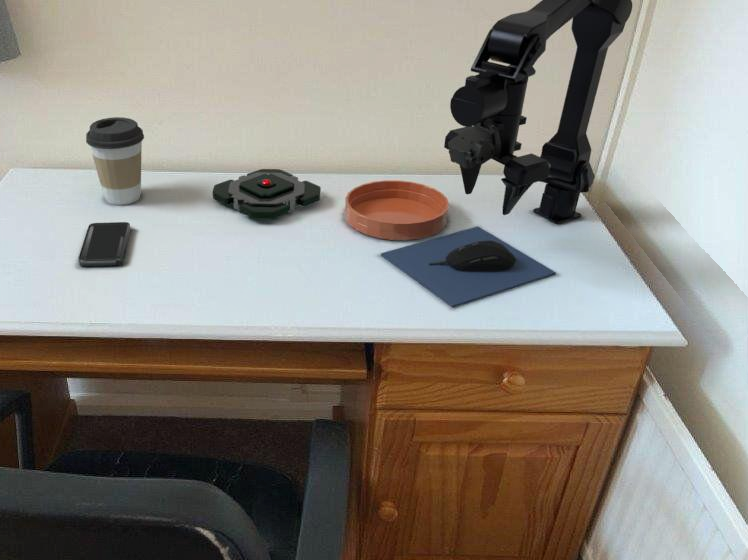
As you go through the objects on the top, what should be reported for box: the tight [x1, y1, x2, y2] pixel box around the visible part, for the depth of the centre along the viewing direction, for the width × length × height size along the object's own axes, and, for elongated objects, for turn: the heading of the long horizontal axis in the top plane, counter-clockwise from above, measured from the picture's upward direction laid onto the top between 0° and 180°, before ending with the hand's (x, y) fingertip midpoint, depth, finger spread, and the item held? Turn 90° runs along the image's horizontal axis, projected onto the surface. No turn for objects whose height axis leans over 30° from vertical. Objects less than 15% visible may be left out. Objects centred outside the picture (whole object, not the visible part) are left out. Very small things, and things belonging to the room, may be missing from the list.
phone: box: [77, 221, 132, 268], centre depth 141 cm, size 8×1×15 cm
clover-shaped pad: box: [211, 168, 321, 220], centre depth 155 cm, size 18×18×5 cm
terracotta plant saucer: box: [344, 179, 450, 241], centre depth 148 cm, size 19×19×4 cm
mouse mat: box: [380, 226, 557, 308], centre depth 134 cm, size 22×20×1 cm
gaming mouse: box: [429, 241, 516, 271], centre depth 132 cm, size 6×15×4 cm, turn 91°
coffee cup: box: [85, 116, 145, 206], centre depth 154 cm, size 11×11×15 cm
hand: (486, 203), depth 129 cm, fingers open, 9 cm apart
